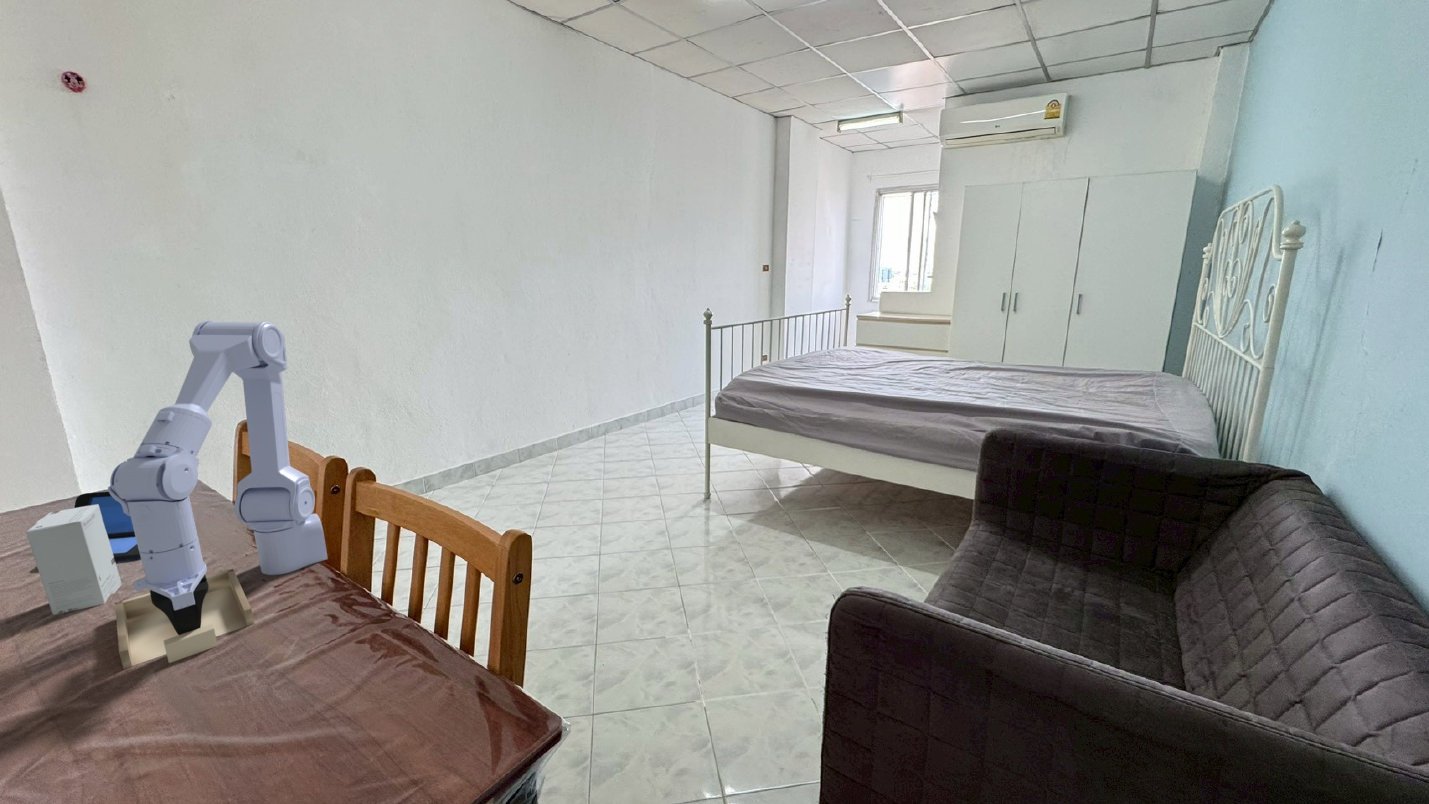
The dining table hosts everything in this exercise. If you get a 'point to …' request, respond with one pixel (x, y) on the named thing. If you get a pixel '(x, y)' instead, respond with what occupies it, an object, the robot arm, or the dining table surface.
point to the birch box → (150, 626)
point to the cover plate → (190, 643)
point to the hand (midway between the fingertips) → (189, 631)
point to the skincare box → (74, 558)
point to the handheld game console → (114, 524)
